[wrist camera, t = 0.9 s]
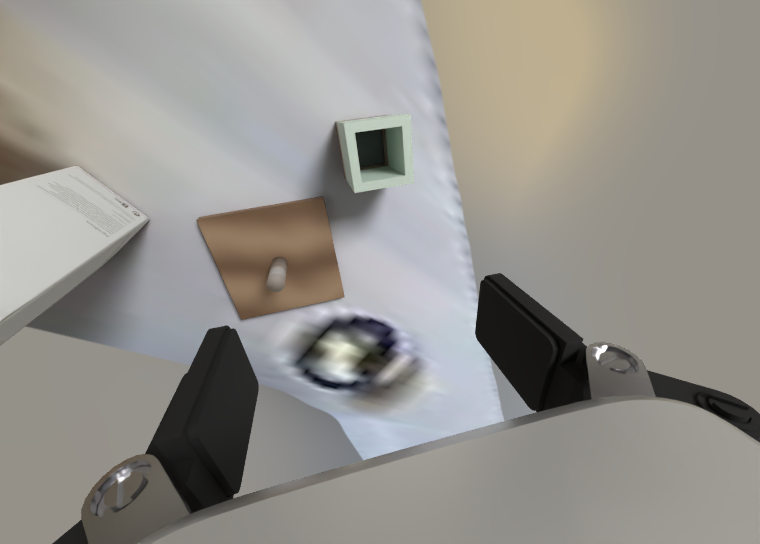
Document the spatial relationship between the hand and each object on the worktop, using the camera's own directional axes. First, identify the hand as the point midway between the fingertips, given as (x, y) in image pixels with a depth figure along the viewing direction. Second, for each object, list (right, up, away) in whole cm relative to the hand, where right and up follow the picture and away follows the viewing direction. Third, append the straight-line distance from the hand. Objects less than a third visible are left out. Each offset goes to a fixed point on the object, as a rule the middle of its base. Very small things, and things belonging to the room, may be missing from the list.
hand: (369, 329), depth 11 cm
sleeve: (-1, +14, +17) cm, 22 cm away
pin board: (-11, +4, +20) cm, 23 cm away
